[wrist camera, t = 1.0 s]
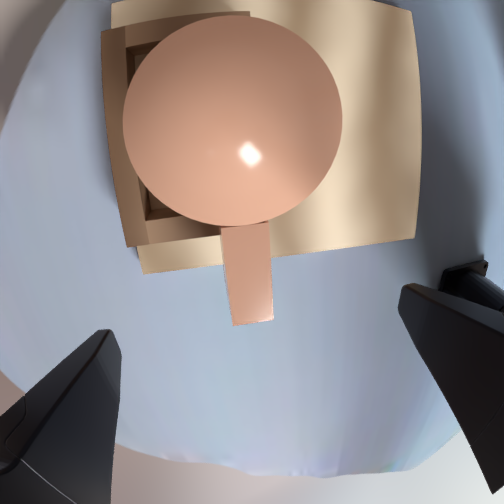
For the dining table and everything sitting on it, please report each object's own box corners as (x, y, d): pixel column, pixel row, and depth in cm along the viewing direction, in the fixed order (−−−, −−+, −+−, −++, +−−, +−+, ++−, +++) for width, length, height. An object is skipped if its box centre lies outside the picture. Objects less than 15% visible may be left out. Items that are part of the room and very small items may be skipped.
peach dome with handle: (149, 66, 13) (116, 31, 7) (284, 54, 13) (334, 19, 8) (174, 262, 17) (164, 334, 11) (293, 246, 18) (337, 307, 12)
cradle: (402, 14, 14) (429, 4, 11) (406, 233, 20) (431, 249, 17) (116, 9, 11) (101, -10, 9) (145, 266, 18) (137, 291, 15)
